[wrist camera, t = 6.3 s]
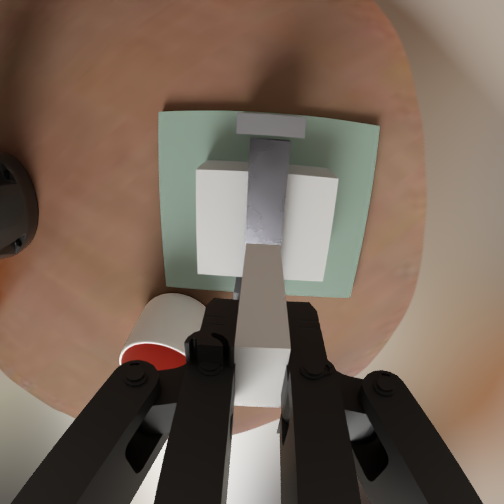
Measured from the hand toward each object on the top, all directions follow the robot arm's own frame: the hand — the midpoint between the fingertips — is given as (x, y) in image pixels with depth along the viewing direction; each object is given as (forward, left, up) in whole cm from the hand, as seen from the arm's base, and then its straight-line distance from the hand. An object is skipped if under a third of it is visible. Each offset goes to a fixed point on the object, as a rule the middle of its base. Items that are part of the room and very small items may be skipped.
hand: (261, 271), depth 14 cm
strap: (0, -3, -12) cm, 13 cm away
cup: (-10, -19, -20) cm, 29 cm away
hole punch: (0, -3, -19) cm, 20 cm away
